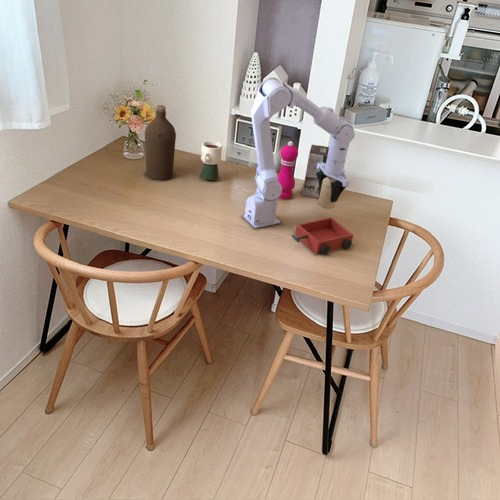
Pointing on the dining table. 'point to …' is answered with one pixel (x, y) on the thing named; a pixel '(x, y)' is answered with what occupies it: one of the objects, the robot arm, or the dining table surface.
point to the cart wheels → (325, 247)
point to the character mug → (210, 159)
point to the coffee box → (314, 170)
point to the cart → (323, 234)
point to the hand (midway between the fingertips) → (328, 197)
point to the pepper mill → (287, 170)
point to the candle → (326, 194)
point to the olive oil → (160, 146)
